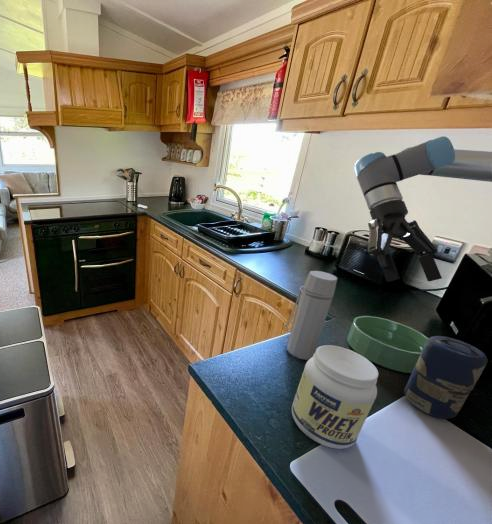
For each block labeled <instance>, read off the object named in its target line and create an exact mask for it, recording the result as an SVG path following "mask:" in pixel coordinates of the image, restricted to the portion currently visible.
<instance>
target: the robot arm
mask: <svg viewBox="0 0 492 524" xmlns="http://www.w3.org/2000/svg"><path fill="white" fill-rule="evenodd" d="M354 173H355V175H356V179H357V182H358V185H359V187H360V190H361V192H362V195H363V197H364V201H365V203H366V206H367V209H368V210H369V214H370V217H371V221H369V222H367V226H368V230H369V232H368V243H367V254H368V255H370V256H371V257H372V258H373V259H375V258H377V260H378V263H379V267H380V268H381V271H382V273H383V276H384V279H385V281H386V283H390V282H394V281H397V280H400V279H401V277H400V274H399V271H398V269H397V267H396V264H395V261H394V258H393V256H392V253H388V252H389V249H390V247H391V243H392V241H393V238H394V239H398V240H399V241H403V242H404V243H405V244H407V245H408V247H410V248H411V249H412V250H413V251H414V252H415V253H416V254H417V255H418V256H419V257H418V260H419V263H420V265H421V268H422V270H423V273H424V275H425V278H426V281H427V282H432V281H433V282H434V281H436V280H437V281H438V280H441V279H443V277H442V274H441V272H440V270H439V268H438V265H437V263H436V261H435V260H436V259H435V258H434V255H435V254H438V252H439V250H438V248H437V246H435V244H434V243H433V242H432V241H431V239H429V237H428V236H427V235H426V233H425V232H424V231H423V230H422V229H421V228H420V226H419V224H418V222H417V220H415V219H414V220H412V221H407V219H406V216H407V215H408V214H409V210H408V207H407V205H406V202H405V201H404V200H403V199H404V197H403V195H402V193H401V190H400V188H399V186H398V182H403V181H404V180H407V179H409V178H413V177H416V176H418V175H421V176H429V177H430V176H431V177H441V178H449V179H450V178H451V179H459V180H469V181H478V182H489V183H490V182H491V183H492V151H488V150H471V149H455V148H454V145H453V143H452V141H451V140H450V138H449V137H447V136H444V135H443V136H439V137H436V138H433V139H430V140H427V141H424V142H422V143H420V144H418V145H414V146H410V147H407V148H405V149H403V150H401V151H399V152H397V153H394V154H391V155H386V154H385V153H384V152H382V151H377V152H374V153H373V152H371V153H369V154H366V155H364V156H362V157H361V158H360V159H358V160H357V161H356V162H355V164H354Z"/></svg>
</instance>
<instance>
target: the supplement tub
mask: <svg viewBox="0 0 492 524" xmlns="http://www.w3.org/2000/svg"><path fill="white" fill-rule="evenodd" d="M378 378H379V371H378V369H377V367H376V366H375V365H374V364H373V362H372V361H370V360H368V359H366V358H365V357H363V356H362V355H360V354H359V353H357V352H356V351H355V350H352V349H348V348H345V347H343V346H339V345H332V344H325V345H320V346H318V347H316V350H315V353H314V355H313V357H312V358H310V359H308V360H306V362H305V365H304V370H303V372H302V374H301V377H300V381H299V384H298V387H297V389H296V392H295V395H294V398H293V402H292V405H291V415H292V418H293V420H294V422H295V424H296V426H297V427H298V428H299V429H300V431H301V432H302V433H303V434H305V435H306V436H307V437H308V438H309V439H311V440H313V442H316V443H318V444H320V445H322V446H324V447H327V448H330V449H336V450H337V449H338V450H343V449H344V450H345V449H348V448H351V447H352V446H353V445H354V444H355V443H356V442H357V440H358V438H359V435H360V433H361V431H362V428H363V427H364V424H365V423H366V420H367V418H368V416H369V413H370V411H371V409H372V406H373V405H374V402H375V400H376V399H377V395H378V387H377V382H378Z"/></svg>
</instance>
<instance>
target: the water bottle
mask: <svg viewBox="0 0 492 524" xmlns="http://www.w3.org/2000/svg"><path fill="white" fill-rule="evenodd" d="M337 283H338V277H337V276H336V275H334V274H332V273H329V272H325V271H320V270H310V271H309V273H308V275H307V277H306V279H305V282H304V284H303V285H300V287H299V294H298V297H297V299H296V301H295V304H294V305H293V308H292V310H291V313H290V315H289V317H288V319H287V322H286V325H285V327H286V328H285V329H286V332H288V333H290V334H289V337H288V341H287V345H286V349H287V351H288V353H289V354H290V355H291V356H292V357H294V358H296V359H299V360H304V361H308V360H309V359H310V358H312V357H313V355H314V354H315V352H316V350H317V348H318V347H317V346H318V343H319V340H320V338H321V334H322V331H323V328H324V326H325V322H326V319H327V316H328V313H329V310H330V308H331V304H332V300H333V297H335V292H336V287H337ZM294 311H295V313H294ZM293 314H294V316H293ZM292 316H293V321H292V324H291V329H289V325H290V321H291V319H292Z"/></svg>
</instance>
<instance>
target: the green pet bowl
mask: <svg viewBox="0 0 492 524" xmlns="http://www.w3.org/2000/svg"><path fill="white" fill-rule="evenodd" d="M429 338H430V337H427V336H426V335H424V334H423V333H422V332H419V331H418V330H416V329H414V328H413V327H410V326H407V325H404V324H403V323H400V322H397V321H394V320H391V319H387V318H382V317H378V316H371V315H361V316H357V317H354V318H353V321H352V323H351V326H350V328H349V332H348V334H347V337H346V341H347V344H348V345H349V347H351V349H352V350H353V351H354V352H356V353H358V354H360V355H361V356H363V357H365V358H366V359H367V360H369V361H370V362H371V363H374V364H376V365H379V366H381V367H383V368H387V369H388V370H389V369H390V370H393V371H396V372H400V373H406V374H411V373H412V371H413V369H414V367H415V365H416V363H417V361H418V359H419V357H420V355H421V353H422V351H423V349H424V346H425V344H426V342H427V340H428V339H429Z"/></svg>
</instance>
